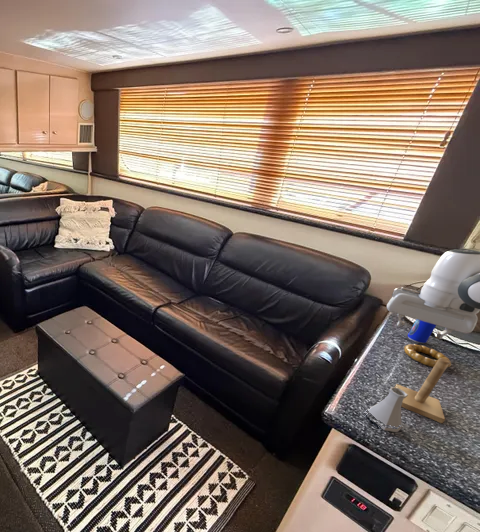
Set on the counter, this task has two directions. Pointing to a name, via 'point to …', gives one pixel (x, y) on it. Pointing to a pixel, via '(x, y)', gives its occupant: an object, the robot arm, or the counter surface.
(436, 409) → the stand
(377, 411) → the flask
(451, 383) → the counter surface
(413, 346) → the ring
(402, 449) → the counter surface
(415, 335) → the beverage can
